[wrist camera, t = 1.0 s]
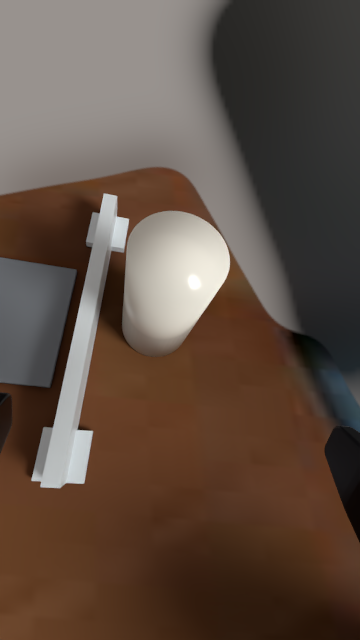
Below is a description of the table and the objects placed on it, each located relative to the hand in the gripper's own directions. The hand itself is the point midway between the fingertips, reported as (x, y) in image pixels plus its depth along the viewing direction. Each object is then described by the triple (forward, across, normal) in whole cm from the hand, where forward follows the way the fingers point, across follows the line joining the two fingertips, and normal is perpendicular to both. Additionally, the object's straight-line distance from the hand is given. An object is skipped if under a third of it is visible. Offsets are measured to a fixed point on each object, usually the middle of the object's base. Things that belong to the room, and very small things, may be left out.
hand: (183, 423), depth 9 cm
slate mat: (+14, +11, +5) cm, 19 cm away
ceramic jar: (+15, 0, +4) cm, 16 cm away
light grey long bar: (+14, +5, +5) cm, 16 cm away
